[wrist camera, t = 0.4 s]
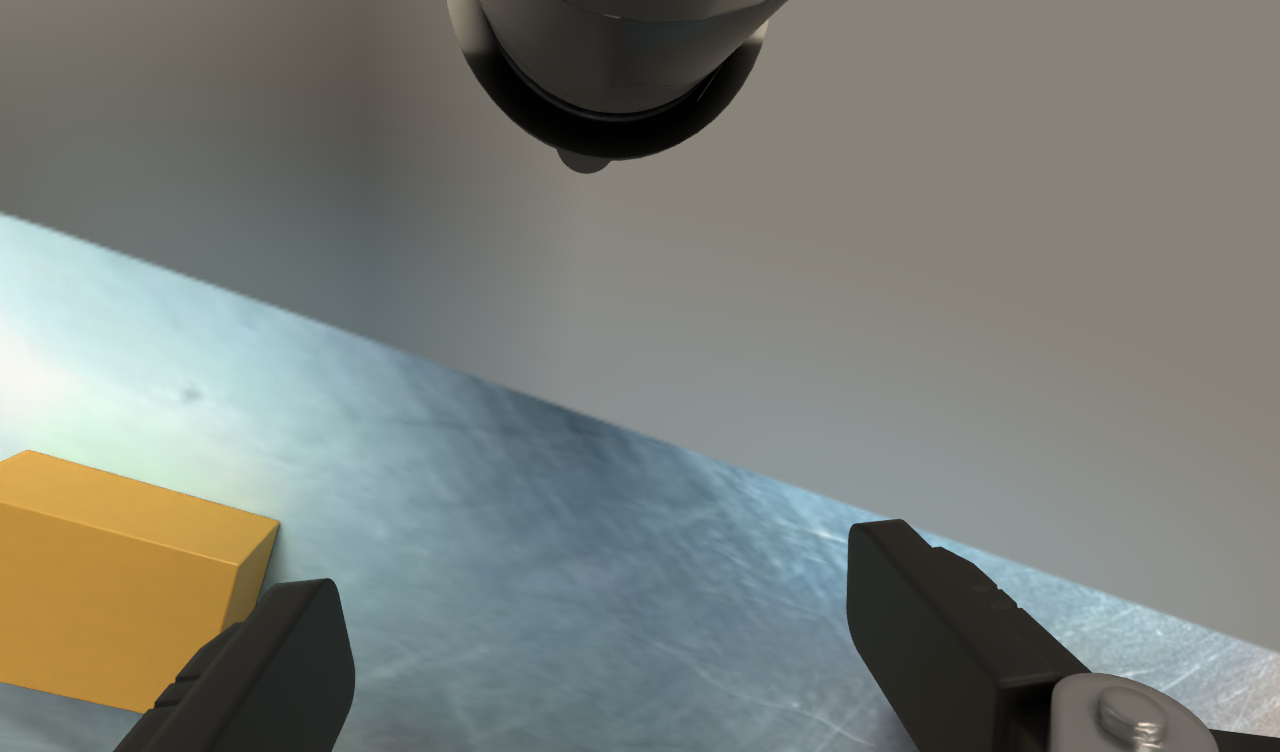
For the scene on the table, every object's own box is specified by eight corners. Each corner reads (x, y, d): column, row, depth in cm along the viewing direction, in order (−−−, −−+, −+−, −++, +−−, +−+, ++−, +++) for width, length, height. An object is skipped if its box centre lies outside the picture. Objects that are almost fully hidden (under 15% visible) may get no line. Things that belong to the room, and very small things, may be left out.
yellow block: (-3, 607, 25) (-84, 664, 22) (27, 448, 23) (-56, 485, 20) (238, 665, 27) (194, 726, 23) (281, 520, 25) (239, 565, 22)
